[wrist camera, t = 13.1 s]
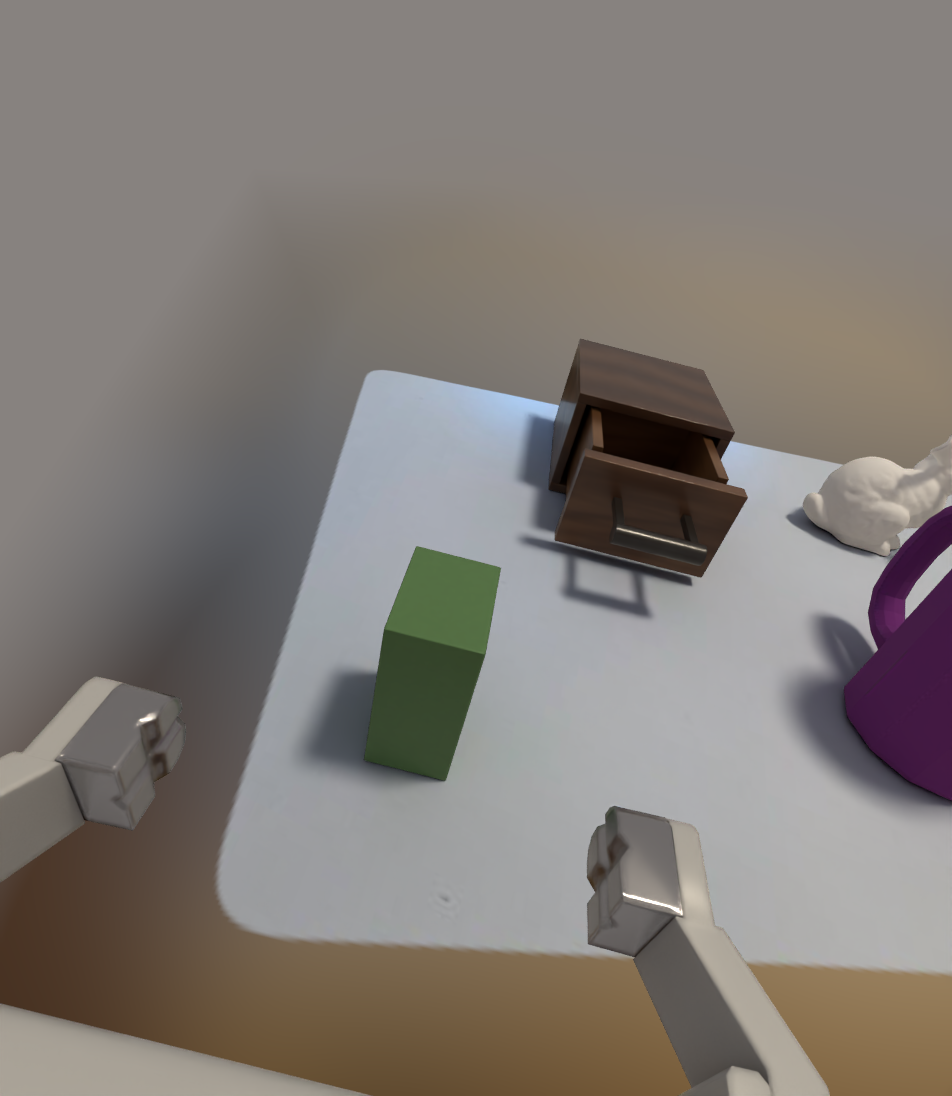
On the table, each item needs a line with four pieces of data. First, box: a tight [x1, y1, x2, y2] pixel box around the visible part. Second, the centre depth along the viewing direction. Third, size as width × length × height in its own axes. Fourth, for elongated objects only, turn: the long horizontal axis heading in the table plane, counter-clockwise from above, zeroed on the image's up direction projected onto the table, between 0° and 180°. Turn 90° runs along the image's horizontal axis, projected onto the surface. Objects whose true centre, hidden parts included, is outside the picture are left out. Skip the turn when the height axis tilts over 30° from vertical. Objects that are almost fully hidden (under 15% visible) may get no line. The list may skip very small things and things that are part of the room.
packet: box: [364, 546, 501, 781], centre depth 27 cm, size 4×6×9 cm
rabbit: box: [803, 435, 952, 556], centre depth 52 cm, size 12×9×12 cm
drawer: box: [555, 404, 748, 577], centre depth 45 cm, size 18×11×7 cm, turn 171°
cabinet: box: [549, 339, 735, 494], centre depth 54 cm, size 15×13×9 cm
